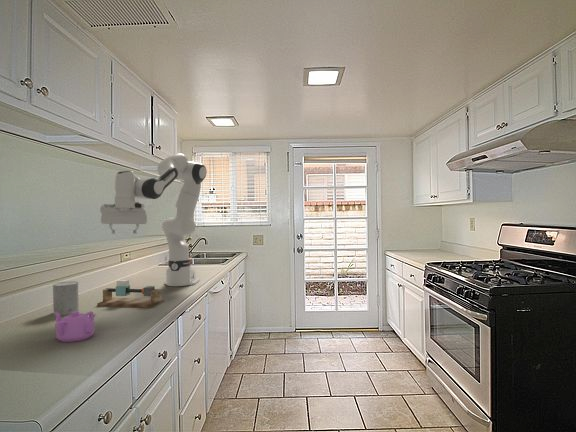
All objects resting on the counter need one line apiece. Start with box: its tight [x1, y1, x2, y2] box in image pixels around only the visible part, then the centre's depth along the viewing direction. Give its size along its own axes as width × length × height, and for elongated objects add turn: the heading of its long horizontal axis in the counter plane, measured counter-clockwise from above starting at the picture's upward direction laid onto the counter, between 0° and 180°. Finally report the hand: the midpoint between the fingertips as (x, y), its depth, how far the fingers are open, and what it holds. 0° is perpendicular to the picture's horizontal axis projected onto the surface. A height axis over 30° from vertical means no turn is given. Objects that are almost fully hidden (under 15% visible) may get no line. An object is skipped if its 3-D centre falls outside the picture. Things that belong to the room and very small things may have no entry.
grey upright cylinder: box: [52, 281, 80, 316], centre depth 169 cm, size 10×10×12 cm
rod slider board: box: [96, 288, 165, 309], centre depth 183 cm, size 26×12×6 cm, turn 80°
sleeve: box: [115, 279, 131, 297], centre depth 184 cm, size 4×4×7 cm
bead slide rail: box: [105, 285, 156, 297], centre depth 183 cm, size 25×4×4 cm, turn 80°
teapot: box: [53, 310, 97, 343], centre depth 134 cm, size 12×14×9 cm
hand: (124, 233), depth 188 cm, fingers open, 8 cm apart
